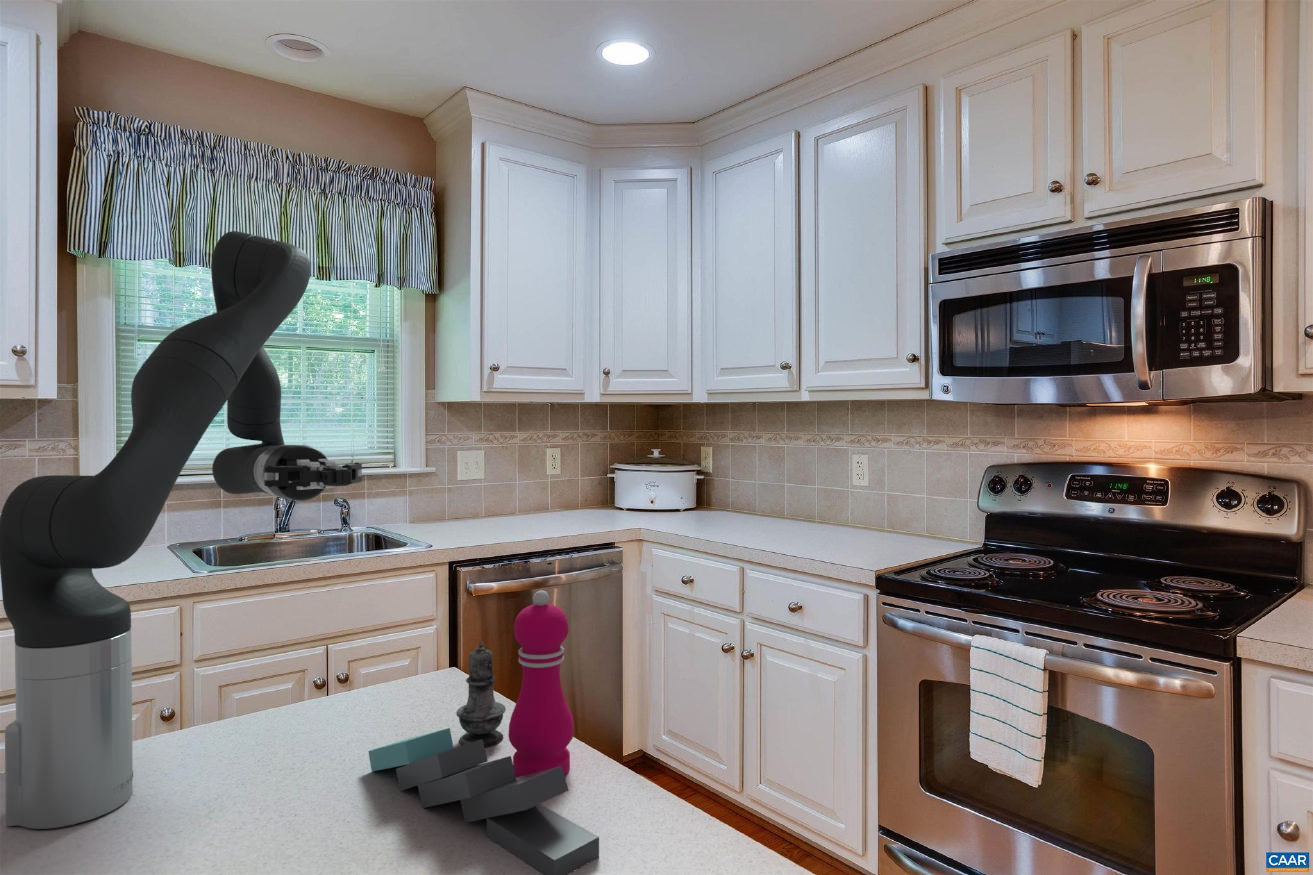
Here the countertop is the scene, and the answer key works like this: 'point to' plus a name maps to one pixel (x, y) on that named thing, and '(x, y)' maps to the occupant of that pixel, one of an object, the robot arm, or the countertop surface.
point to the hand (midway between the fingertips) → (342, 477)
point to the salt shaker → (481, 702)
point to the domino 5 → (544, 840)
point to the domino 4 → (516, 795)
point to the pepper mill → (541, 691)
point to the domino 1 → (410, 750)
